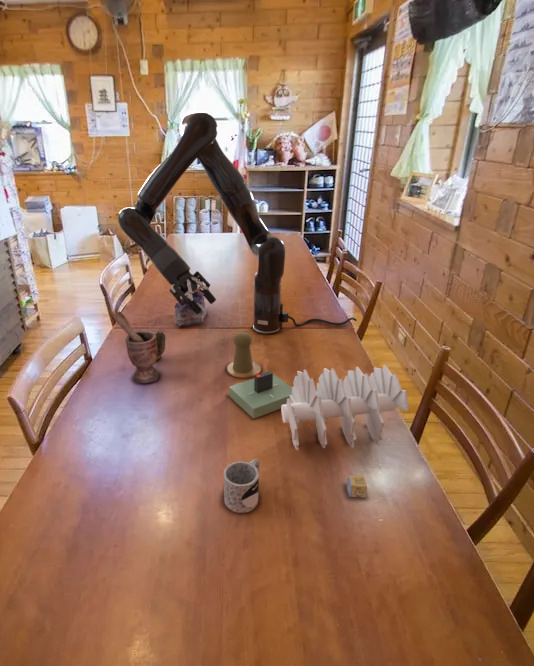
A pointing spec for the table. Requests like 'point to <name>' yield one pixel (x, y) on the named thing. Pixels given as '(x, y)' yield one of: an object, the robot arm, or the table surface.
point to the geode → (190, 312)
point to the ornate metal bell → (160, 344)
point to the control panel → (260, 397)
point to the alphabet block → (356, 486)
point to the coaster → (252, 373)
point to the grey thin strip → (241, 486)
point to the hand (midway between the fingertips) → (207, 307)
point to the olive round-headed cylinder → (242, 353)
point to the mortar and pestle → (140, 350)
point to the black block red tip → (263, 381)
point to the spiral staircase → (344, 401)
